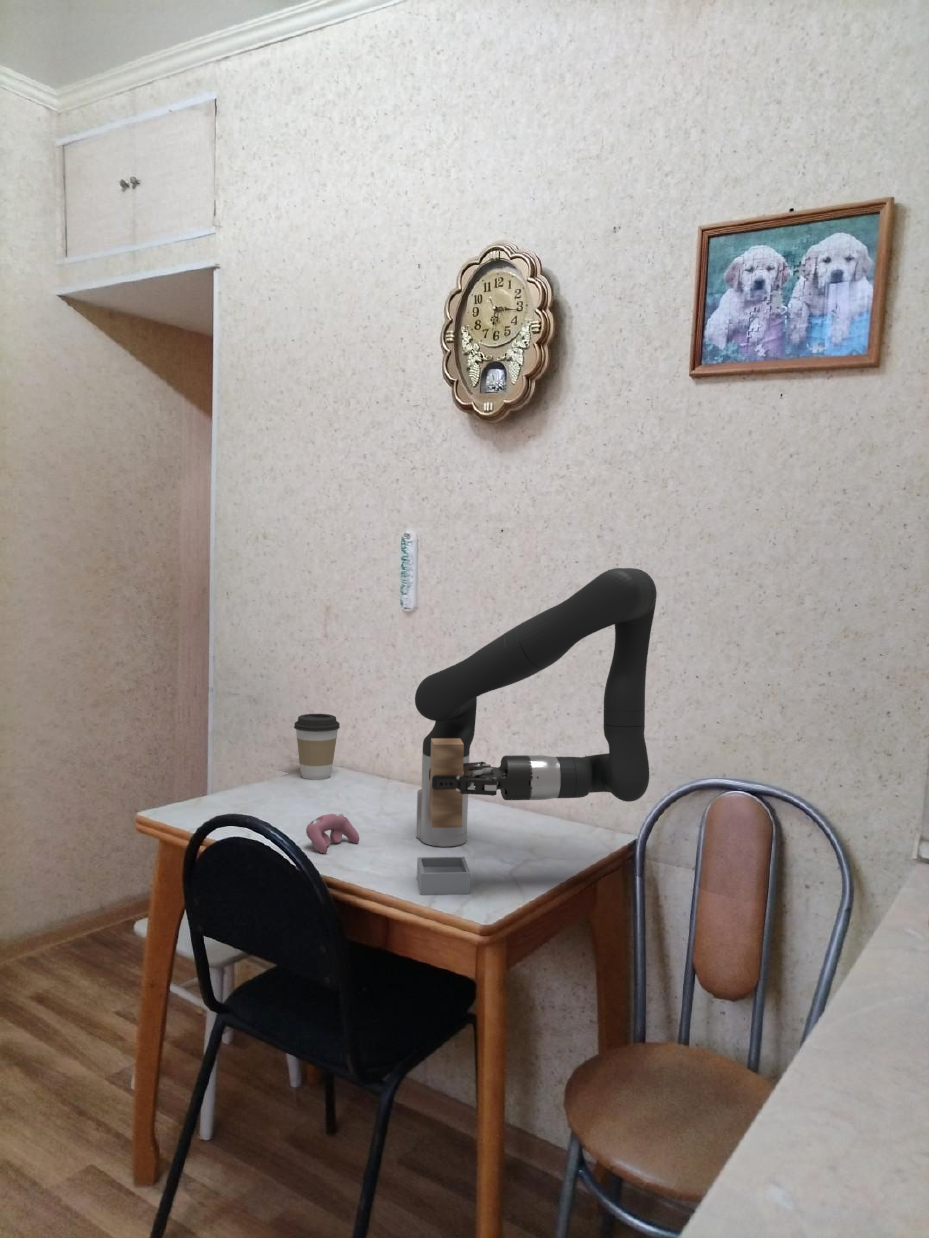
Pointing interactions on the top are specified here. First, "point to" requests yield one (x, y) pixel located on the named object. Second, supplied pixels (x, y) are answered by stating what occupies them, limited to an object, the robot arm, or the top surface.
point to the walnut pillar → (446, 801)
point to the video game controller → (337, 827)
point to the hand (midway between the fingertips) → (431, 778)
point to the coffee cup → (316, 744)
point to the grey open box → (443, 875)
